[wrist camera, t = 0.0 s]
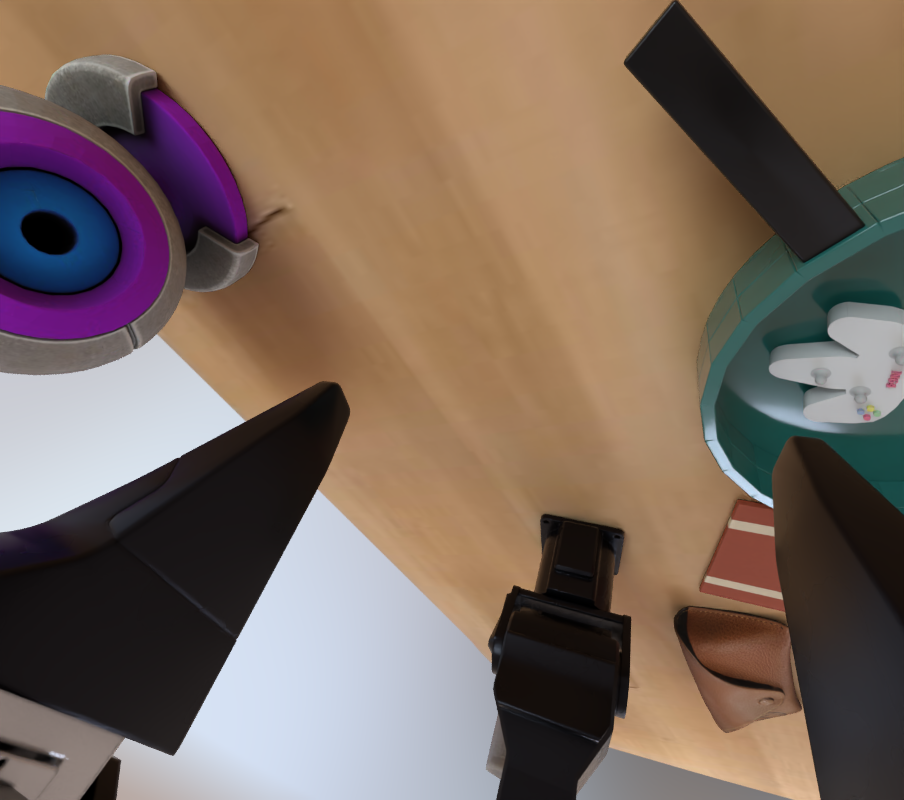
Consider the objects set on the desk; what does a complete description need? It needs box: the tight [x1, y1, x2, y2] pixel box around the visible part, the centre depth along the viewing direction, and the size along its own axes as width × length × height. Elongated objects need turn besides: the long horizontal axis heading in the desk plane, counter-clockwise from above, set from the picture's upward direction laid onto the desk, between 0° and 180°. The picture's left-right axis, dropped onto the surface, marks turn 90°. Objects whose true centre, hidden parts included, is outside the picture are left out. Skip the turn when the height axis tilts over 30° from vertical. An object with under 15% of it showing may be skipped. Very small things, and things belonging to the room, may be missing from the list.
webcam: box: [0, 55, 259, 375], centre depth 22 cm, size 13×13×15 cm
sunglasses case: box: [674, 606, 802, 733], centre depth 40 cm, size 18×7×7 cm, turn 30°
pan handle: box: [624, 0, 865, 263], centre depth 14 cm, size 10×2×1 cm, turn 55°
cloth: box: [699, 500, 785, 612], centre depth 29 cm, size 12×15×1 cm
